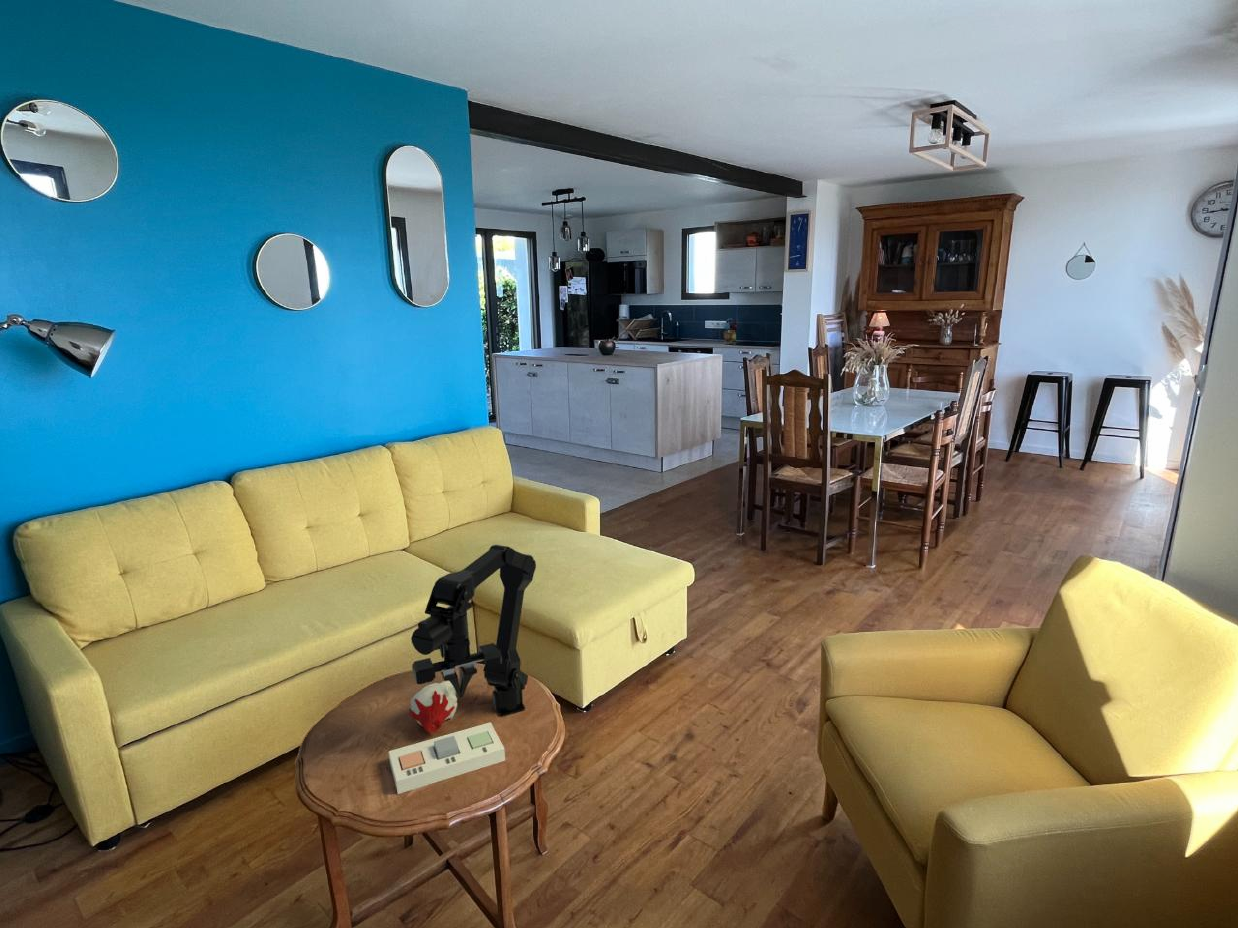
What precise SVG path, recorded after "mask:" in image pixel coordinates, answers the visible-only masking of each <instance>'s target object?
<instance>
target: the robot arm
mask: <svg viewBox="0 0 1238 928" xmlns="http://www.w3.org/2000/svg"><path fill="white" fill-rule="evenodd" d="M536 568H537V563H536V560H535V559H534V557H533V556H532V555H530V554H525V553H521V552H519V551H516V550H515V549H513V548H512V547H510V546H506V545H501V544H493V545H491V546H490V547H489V549H488V550H487V551H486V552H484V553H483V554H482V555H481V556H479V557H478V558H476V559H475V560H474V561H473V562H471V563H470V564H468V565H467V566H466V567H464V568H463V569H461V570H460V571H456V572H450V573H447V574H445V575H443V576H441V577H439V578H438V579H437V580H436V581H435V582H434V585H433V587H432V590H431V592H430V596H429V599H428V601H427V604H426V607H425V610H424V613H425V614H426V615H429V616H428V617H427V618H425V619H424V620H423V619H422V620H421V621H420V622H418V623H417V628H416V629H415V630H414V631H413V632H412V635H411V636H410V637H411V644H412V646H413V648H414V649H415V650H416V651H417V652H418V653H419V654H421V655H423V656H427V655H430V654H431V653H434V651H437V650H439V652H440V656H441V658H442V659H443V660H441V661H437V662H432V660H431V658H430V657H427V658H424V659H419V660H415V661H413V663H412V665H411V670H412V675H413V678H414V680H415V682H416V684H417V685H423V684H426V683H432V682H434V680H435V679H436V673H438V672H439V673H440V675H441V677H442V679H443V681H450V682H451V684H452V685H453V687H454V689H455V691H456V695H457V697H458V699H463V698H464V696H465V693H466V690H467V687H468V686H469V683H470V681H471V679H472V677H473V676H474V675H476V674H477V673H478V670H477V667H476V665H477V664H476V663H479V662H483V661H484V667H483V670H482V671H483V674H484V675H483V677H484V679H485V681H486V682H487V685H488V686H490V687H493V689H494V690H493V691H492V694H491V695H492V704H493V705H492V706H493V708H494V709H495V711H496V712H497V713H498V715H499V716H500V717H504V716H507V715H511V714H515V713H517V712H521V711H525V710H526V706H525V705H524V702H523V701H524V700H523V699H524V698H523V690H525V689H526V685H527V684H528V680H529V675H528V674H527V673H525V672H524V671H522V670H521V659H520V656H519V653H518V652H517V651H518V650H517V643H518V638H519V630H520V624H521V615H522V609H523V602H524V595H525V590H526V589H527V588H528V586H529V585H530V584H531V583H532V582H533V579H534V574H535V571H536ZM498 570H499V578H500V581H501V582H502V583H501V584H502V585H503V594H502V602H501V609H500V616H499V622H498V623H499V624H498V630H497V636H496V643H494V642H492V643H491V642H490V643H488V644H483V645H480V646H478V648H477V651H478V652H475V653H471V647H470V645H471V644H470V643H471V641H470V635H469V634H470V633H469V622H468V610H471V609H472V608H473V607H474V604H473V603H471V602H470V601H471V600H472V599H473V598H474V596H475V593H476V592H475V591H476V589H477V587H479V586H480V585H481V584H482V583H484V582H485V581H486V580H487V579H488V578H489V577H492V575H493V574H495V573H496V572H497V571H498ZM438 604H440V605H444V606H448V607H443V606H438ZM456 668H458V670H459V672H458V673H459V676H458V673H457V672H456Z"/></svg>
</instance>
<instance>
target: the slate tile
mask: <svg viewBox="0 0 1238 928" xmlns="http://www.w3.org/2000/svg"><path fill="white" fill-rule="evenodd" d="M434 748H435V752H436V755H437V758H438V760H439V759H443V758H446V757H449V756H453V755H456V754H459V748H458V745H457V742H456V740H455V737H454V736H451V737H447V738H444V739H440V740H437V741H434Z"/></svg>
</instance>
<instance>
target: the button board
mask: <svg viewBox="0 0 1238 928" xmlns="http://www.w3.org/2000/svg"><path fill="white" fill-rule="evenodd" d="M485 731H487V732H488V734H489V736H490V738H491V740H492V744H489V745H486V746H483V747H479V748H476V749H473V750H472V749H471V747H470V744H469V742H468V736H471V735H475V734H478V733H482V732H485ZM451 736H454V737H455V740H456V742H457V745H458V748H459V754H456V755H453V756H449V757H446V758H443V759H439V760H438V758H437V755H436V752H435V748H434V741H437V740H440V739H444V738H447V737H451ZM505 750H506V749H505V746H504V745H503V743H502V741H501V739H500V737H499V735H498V733H497V732H496V729H495V728H494V726H493V724H492V722H486V723H483V724H479V725H476V726H472V727H469V728H465V729H462V730H459V731H455V732H451V733H449V734H445V735H441V736H438V737H434V738H431V739H427V740H423V741H421V742H417V743H413V744H410V745H406V746H402V747H400V748H395V749H392V750H390V751H388V757H389V758H388V760H389V764H390V765H389V766H390V769H391V773H392V777H393V780H394V785H395V789H396V791H397V792H396V793H397V795H401V794H403V793H406V792H409V791H412V790H416V789H418V788H422V787H425V786H428V785H431V784H434V783H438V782H440V781H444V780H448V779H451V778H454V777H457V776H460V775H463V774H466V773H470V772H473V771H476V770H479V769H483V768H486V767H489V766H493V765H496V764H498V763H502V762H505V761H506V752H505ZM416 751H420V752H421V755H422V758H423V761H424V764H423V765H419V766H416V767H413V768H409V769H406V770H403V771H402V769H401V766H400V758H399V756H403V755H406V754H409V753H413V752H416Z"/></svg>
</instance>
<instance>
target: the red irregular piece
mask: <svg viewBox="0 0 1238 928" xmlns="http://www.w3.org/2000/svg"><path fill="white" fill-rule="evenodd" d="M456 695H457V693H456V691H455V689H454V687H453V685H452V684H451V682H450V681H444V680H443V681H441V682H439V683H438V682H435V683H431V684H428V685H426V686H424V687H423V688H421V689H419V690H418V692H416V693H415V694H414V696H413V697H412V698H411V699H410V708H409V714H410V715H409V716H411V718H413V720H414V721H415V722H417V724H418V725H419V726H420V727H422V728H424V731H425V732H426V733H428V734H432V733H435V732H437V731H438V730H440V729H441V728H442V726H443V724H444V723H445V721H446V720H447V721H448V719H453V717H454V715H455V713H456V711H457V708H458V702H457V701H458V698H457V697H458V696H456Z"/></svg>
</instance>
